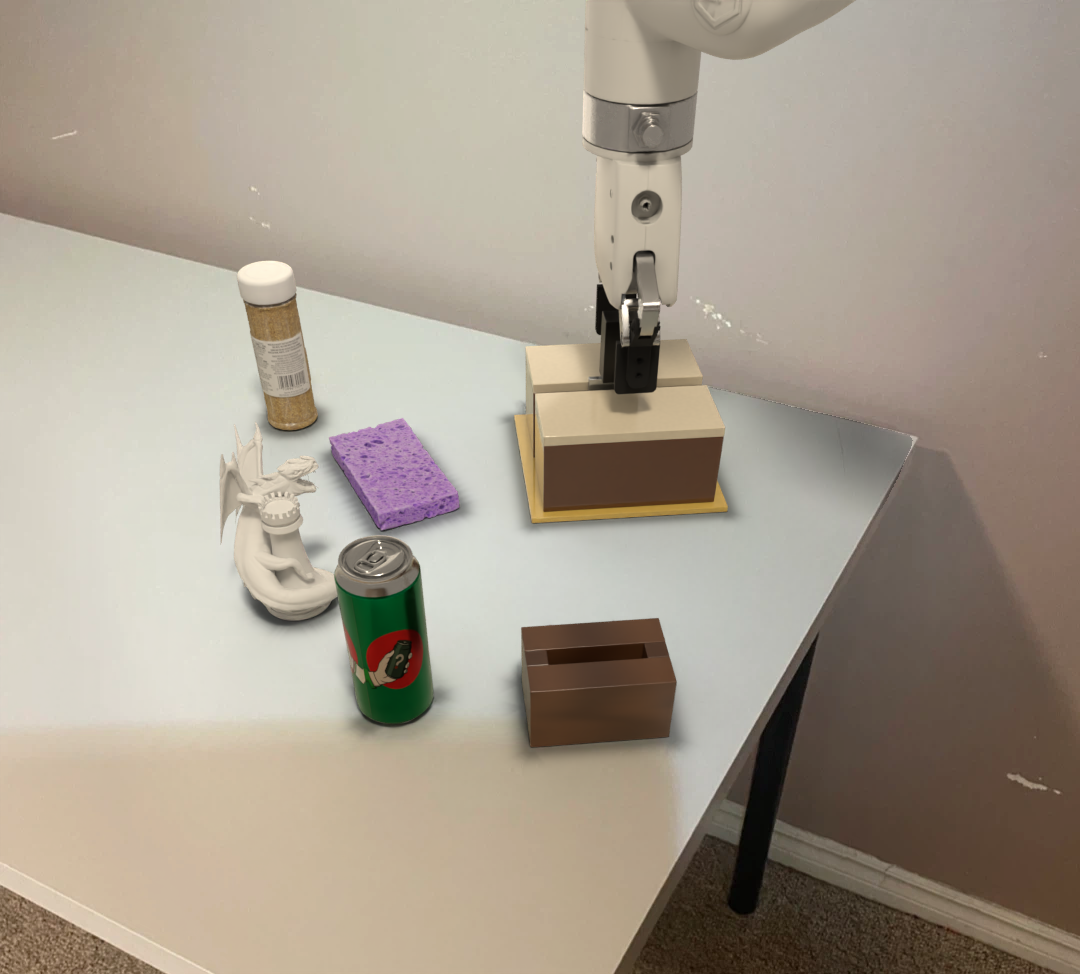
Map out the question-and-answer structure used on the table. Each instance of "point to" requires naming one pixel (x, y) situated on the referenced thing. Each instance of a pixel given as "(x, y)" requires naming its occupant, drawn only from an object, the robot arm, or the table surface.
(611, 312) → the knife
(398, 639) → the soda can
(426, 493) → the sponge
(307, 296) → the table surface
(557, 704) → the knife stand
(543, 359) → the cake
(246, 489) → the figurine
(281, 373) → the spice jar
